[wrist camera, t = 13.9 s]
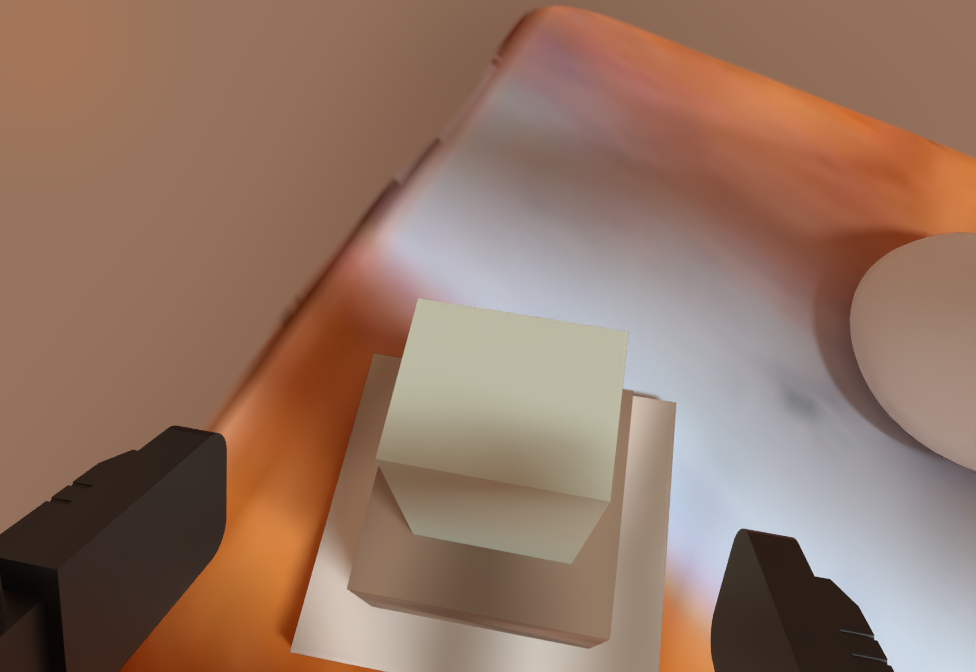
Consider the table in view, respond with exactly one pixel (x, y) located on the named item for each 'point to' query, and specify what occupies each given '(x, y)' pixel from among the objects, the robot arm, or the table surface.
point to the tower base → (476, 650)
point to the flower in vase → (923, 340)
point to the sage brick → (504, 429)
